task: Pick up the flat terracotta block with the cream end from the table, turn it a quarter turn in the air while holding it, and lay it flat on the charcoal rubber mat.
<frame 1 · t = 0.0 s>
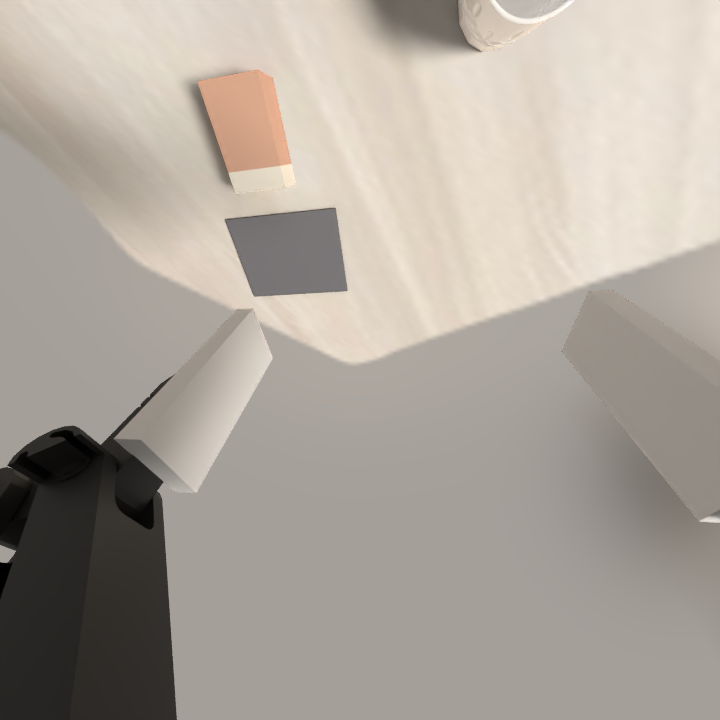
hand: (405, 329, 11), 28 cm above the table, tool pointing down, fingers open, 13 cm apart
mat: (290, 256, 38), on the table
flat block: (260, 139, 30), on the table
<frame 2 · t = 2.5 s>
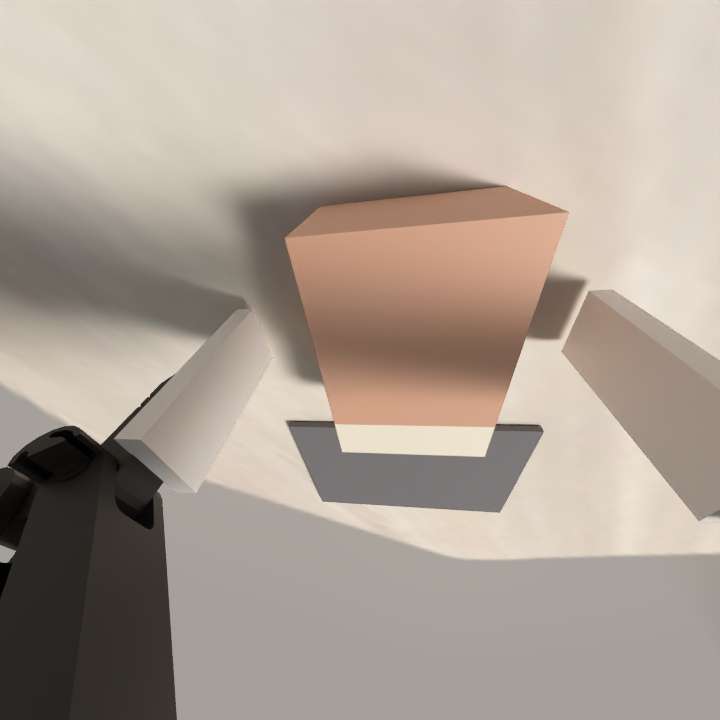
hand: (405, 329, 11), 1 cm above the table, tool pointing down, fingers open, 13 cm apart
mat: (407, 469, 20), on the table
flat block: (407, 315, 12), on the table
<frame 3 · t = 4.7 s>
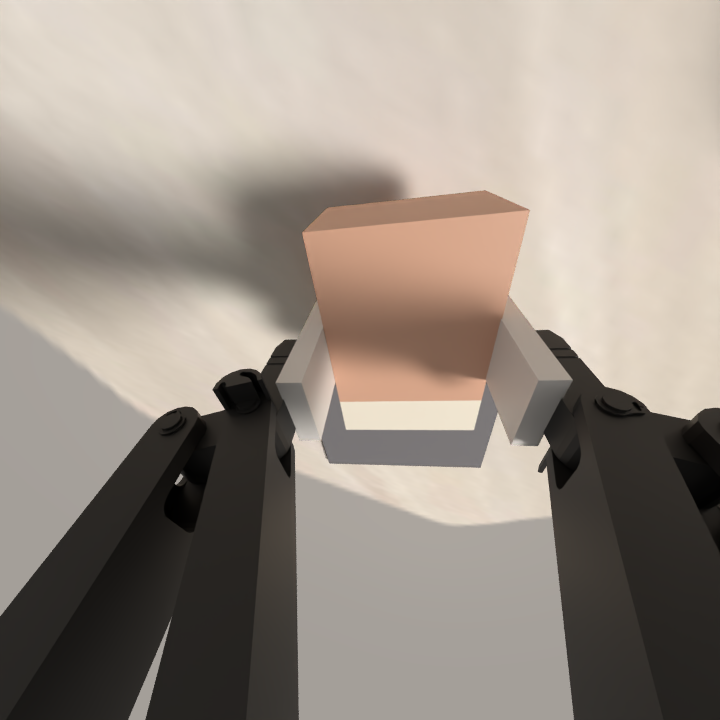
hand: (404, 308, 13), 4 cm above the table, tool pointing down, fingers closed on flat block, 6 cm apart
mat: (401, 427, 24), on the table
flat block: (403, 305, 13), point 3 cm above the table, touching gripper
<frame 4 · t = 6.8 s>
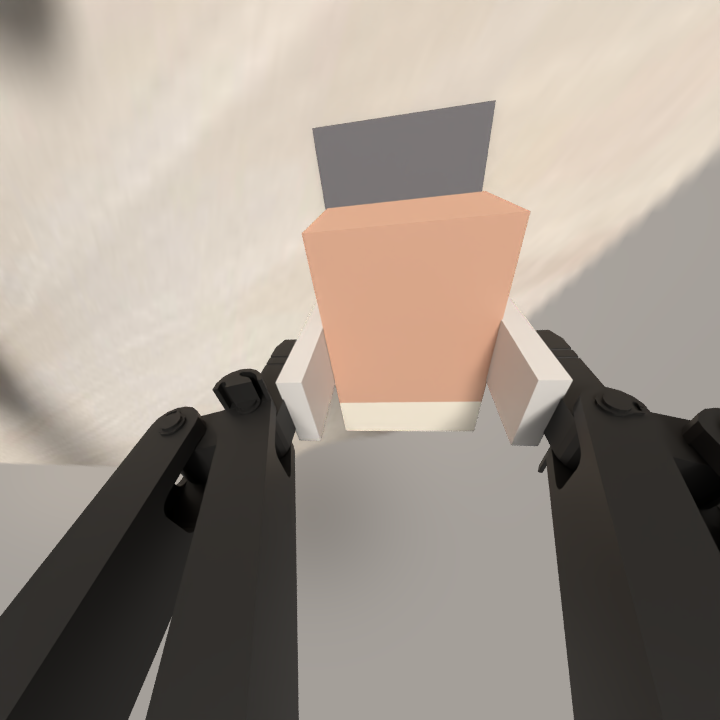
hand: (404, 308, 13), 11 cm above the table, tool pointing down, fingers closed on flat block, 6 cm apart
mat: (400, 242, 21), on the table
flat block: (403, 306, 13), point 11 cm above the table, touching gripper
when the fingers open (1 cm above the table, at t = 8.8 s): flat block stays where it is, resting on mat.
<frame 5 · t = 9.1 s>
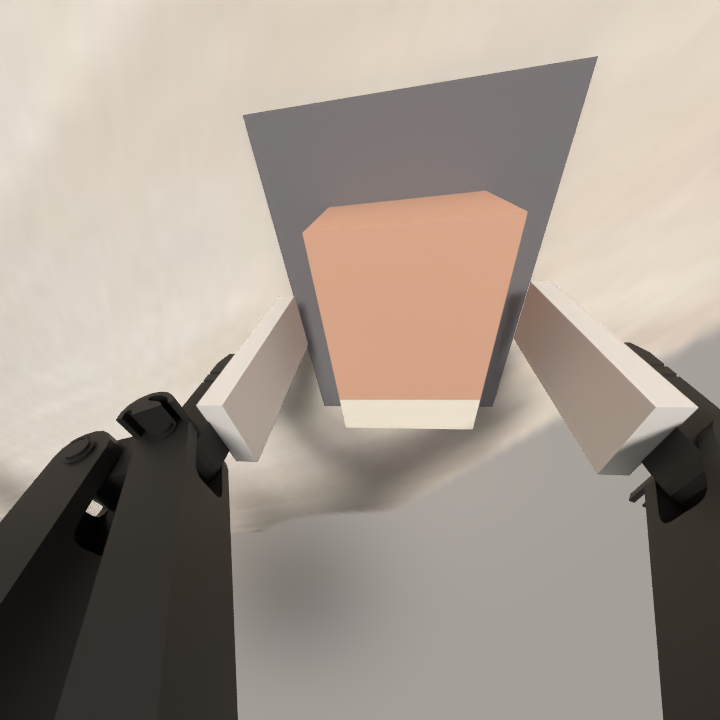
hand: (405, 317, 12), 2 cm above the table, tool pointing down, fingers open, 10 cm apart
mat: (404, 300, 13), on the table
flat block: (404, 304, 13), resting on mat
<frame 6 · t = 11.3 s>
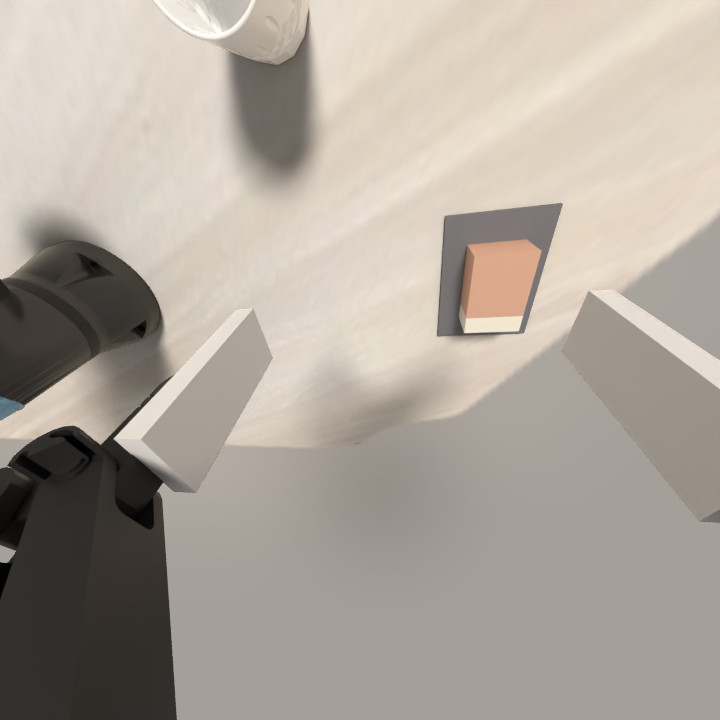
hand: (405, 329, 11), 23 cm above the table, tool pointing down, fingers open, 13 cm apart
mat: (488, 280, 32), on the table
flat block: (489, 281, 32), resting on mat
white cup: (267, 3, 21), on the table
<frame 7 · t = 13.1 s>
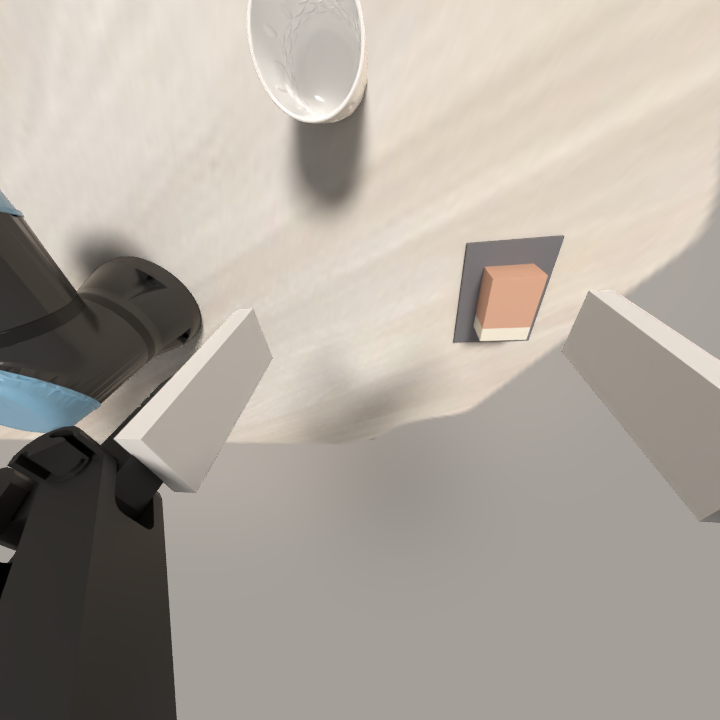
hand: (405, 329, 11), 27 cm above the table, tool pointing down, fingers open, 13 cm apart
mat: (500, 295, 37), on the table
flat block: (501, 297, 37), resting on mat
white cup: (332, 74, 26), on the table
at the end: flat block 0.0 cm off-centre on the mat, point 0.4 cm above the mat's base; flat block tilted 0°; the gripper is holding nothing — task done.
